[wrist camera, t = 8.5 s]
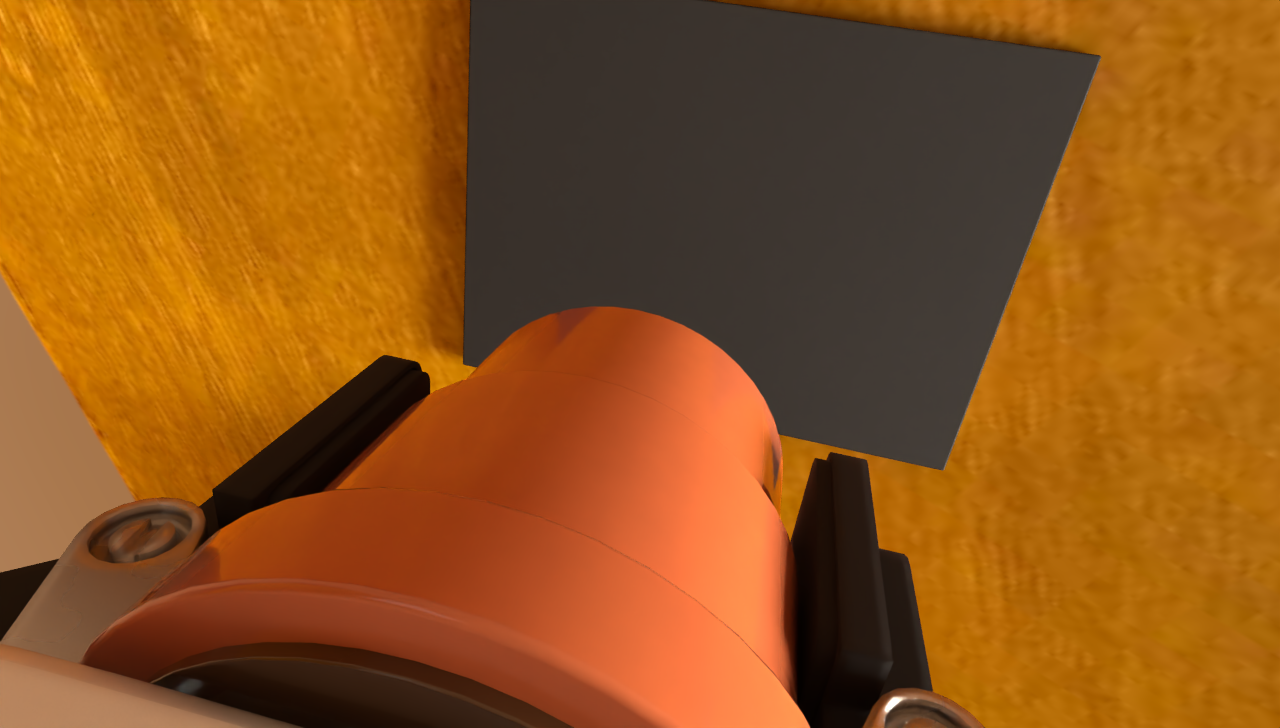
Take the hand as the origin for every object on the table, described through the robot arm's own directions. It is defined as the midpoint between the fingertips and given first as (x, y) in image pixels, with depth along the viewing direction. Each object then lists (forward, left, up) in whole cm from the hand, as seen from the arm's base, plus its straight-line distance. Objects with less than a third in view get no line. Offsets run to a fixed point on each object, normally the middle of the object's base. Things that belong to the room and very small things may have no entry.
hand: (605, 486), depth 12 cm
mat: (0, 0, -17) cm, 17 cm away
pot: (0, 0, -1) cm, 1 cm away
